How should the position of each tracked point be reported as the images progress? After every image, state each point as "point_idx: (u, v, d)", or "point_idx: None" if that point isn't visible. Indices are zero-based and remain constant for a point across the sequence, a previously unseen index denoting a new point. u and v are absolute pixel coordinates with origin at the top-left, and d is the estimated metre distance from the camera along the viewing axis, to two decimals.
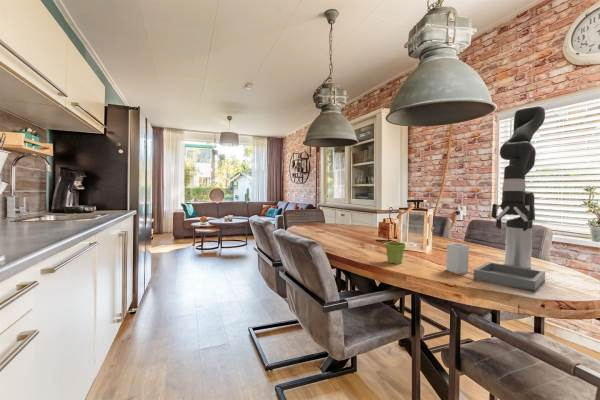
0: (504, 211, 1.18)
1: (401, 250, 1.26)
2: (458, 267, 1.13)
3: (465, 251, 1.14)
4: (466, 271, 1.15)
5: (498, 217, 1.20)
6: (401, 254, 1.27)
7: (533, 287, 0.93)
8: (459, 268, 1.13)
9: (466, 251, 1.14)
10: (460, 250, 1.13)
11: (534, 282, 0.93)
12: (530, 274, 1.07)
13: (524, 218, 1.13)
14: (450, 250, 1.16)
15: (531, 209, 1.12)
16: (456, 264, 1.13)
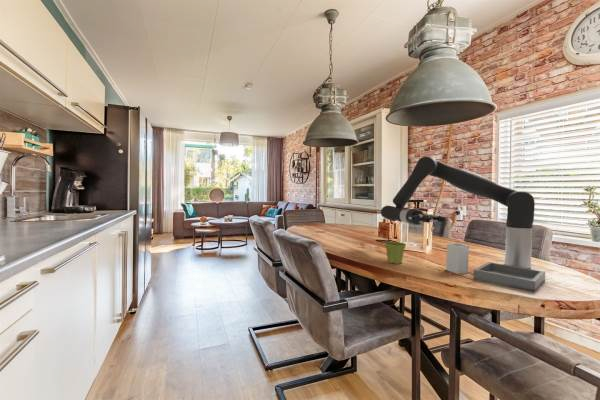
0: None
1: (401, 250, 1.26)
2: (458, 267, 1.13)
3: (465, 251, 1.14)
4: (466, 271, 1.15)
5: None
6: (401, 254, 1.27)
7: (533, 287, 0.93)
8: (459, 268, 1.13)
9: (466, 251, 1.14)
10: (460, 250, 1.13)
11: (534, 282, 0.93)
12: (530, 274, 1.07)
13: None
14: (450, 250, 1.16)
15: (411, 220, 1.32)
16: (456, 264, 1.13)
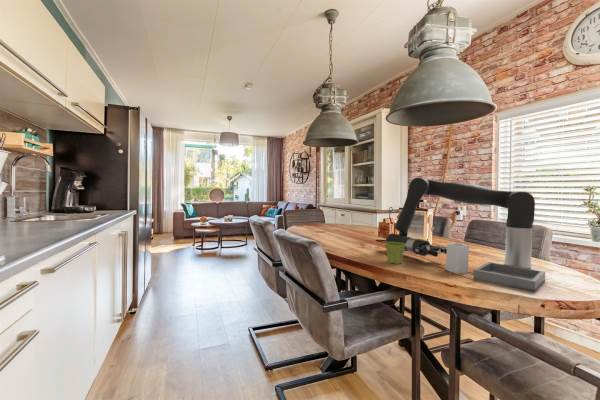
0: None
1: (401, 250, 1.26)
2: (458, 267, 1.13)
3: (465, 251, 1.14)
4: (466, 271, 1.15)
5: None
6: (401, 254, 1.27)
7: (533, 287, 0.93)
8: (459, 268, 1.13)
9: (466, 251, 1.14)
10: (460, 250, 1.13)
11: (534, 282, 0.93)
12: (530, 274, 1.07)
13: None
14: (450, 250, 1.16)
15: (418, 253, 1.29)
16: (456, 264, 1.13)
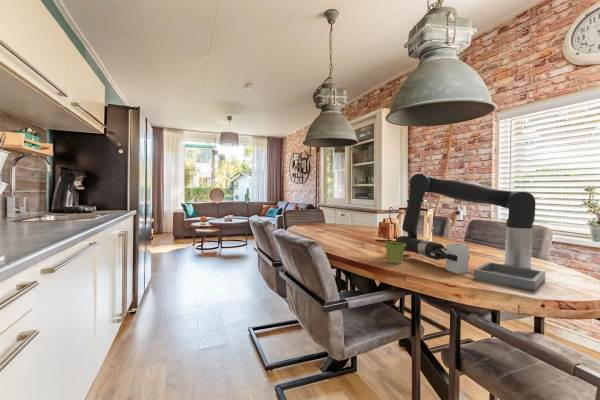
0: None
1: (401, 250, 1.26)
2: (458, 267, 1.13)
3: (465, 251, 1.14)
4: (466, 271, 1.15)
5: None
6: (401, 254, 1.27)
7: (533, 287, 0.93)
8: (459, 268, 1.13)
9: (466, 251, 1.14)
10: (460, 250, 1.13)
11: (534, 282, 0.93)
12: (530, 274, 1.07)
13: None
14: (450, 250, 1.16)
15: (434, 257, 1.20)
16: (456, 264, 1.13)
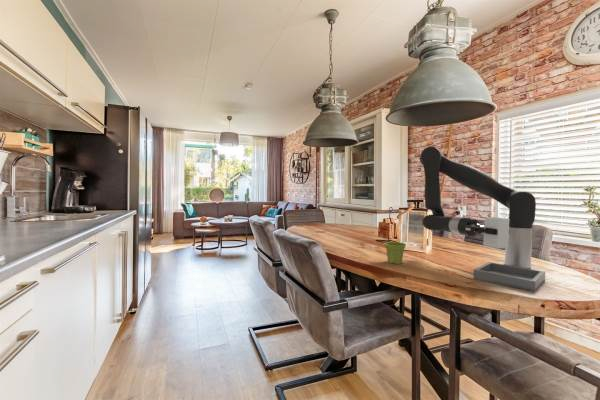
0: None
1: (401, 250, 1.26)
2: (498, 241, 1.05)
3: (505, 224, 1.06)
4: (506, 246, 1.06)
5: None
6: (401, 254, 1.27)
7: (533, 287, 0.93)
8: (499, 242, 1.05)
9: (507, 225, 1.06)
10: (500, 223, 1.05)
11: (534, 282, 0.93)
12: (530, 274, 1.07)
13: None
14: (488, 224, 1.08)
15: (470, 232, 1.12)
16: (496, 238, 1.05)
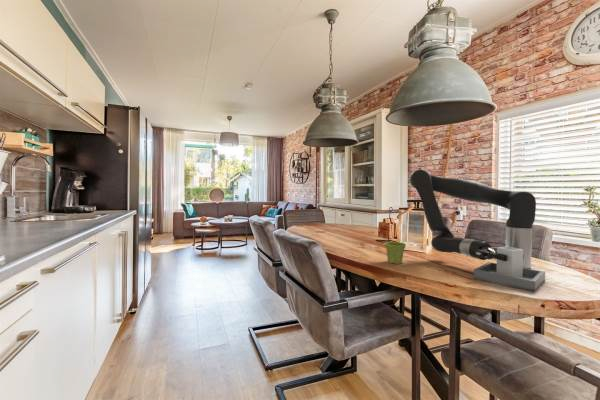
0: None
1: (401, 250, 1.26)
2: (512, 273, 1.02)
3: (519, 256, 1.03)
4: None
5: None
6: (401, 254, 1.27)
7: (533, 287, 0.93)
8: (513, 274, 1.02)
9: (521, 256, 1.03)
10: (514, 255, 1.02)
11: (534, 282, 0.93)
12: (530, 274, 1.07)
13: None
14: None
15: (480, 256, 1.10)
16: (510, 270, 1.02)
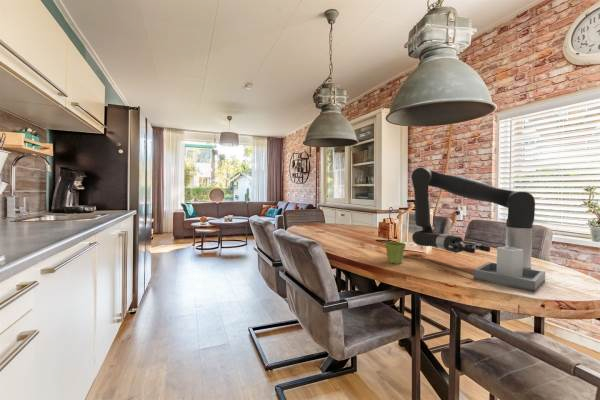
0: None
1: (401, 250, 1.26)
2: (512, 273, 1.02)
3: (519, 256, 1.03)
4: None
5: None
6: (401, 254, 1.27)
7: (533, 287, 0.93)
8: (513, 274, 1.02)
9: (521, 256, 1.03)
10: (514, 255, 1.02)
11: (534, 282, 0.93)
12: (530, 274, 1.07)
13: None
14: (502, 254, 1.05)
15: (452, 249, 1.22)
16: (510, 270, 1.02)
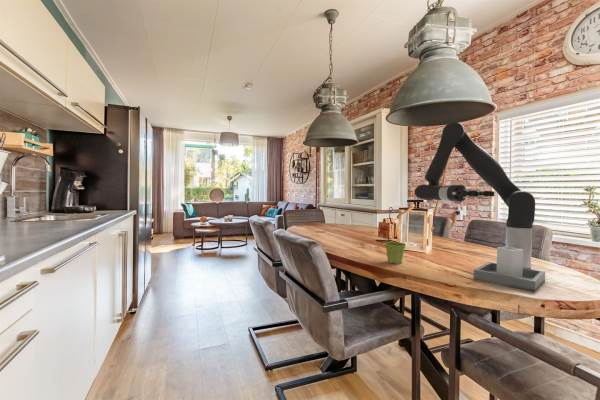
0: None
1: (401, 250, 1.26)
2: (512, 273, 1.02)
3: (519, 256, 1.03)
4: None
5: (483, 196, 1.20)
6: (401, 254, 1.27)
7: (533, 287, 0.93)
8: (513, 274, 1.02)
9: (521, 256, 1.03)
10: (514, 255, 1.02)
11: (534, 282, 0.93)
12: (530, 274, 1.07)
13: (467, 196, 1.17)
14: (502, 254, 1.05)
15: (455, 196, 1.20)
16: (510, 270, 1.02)
